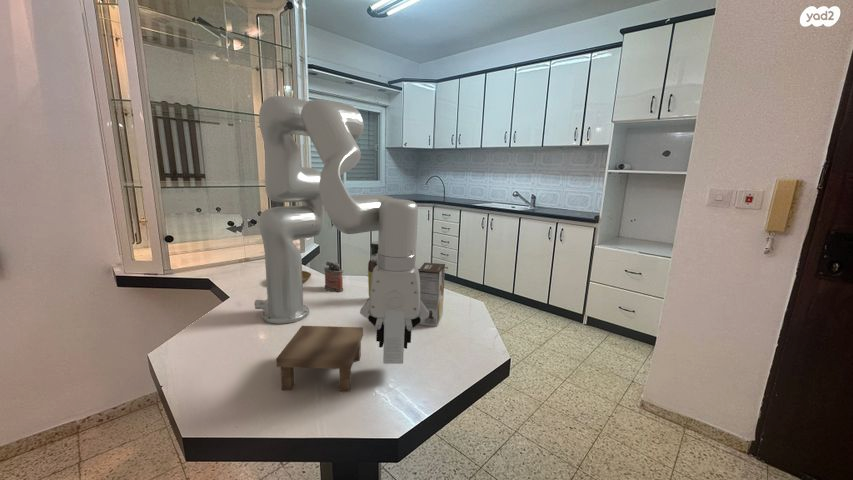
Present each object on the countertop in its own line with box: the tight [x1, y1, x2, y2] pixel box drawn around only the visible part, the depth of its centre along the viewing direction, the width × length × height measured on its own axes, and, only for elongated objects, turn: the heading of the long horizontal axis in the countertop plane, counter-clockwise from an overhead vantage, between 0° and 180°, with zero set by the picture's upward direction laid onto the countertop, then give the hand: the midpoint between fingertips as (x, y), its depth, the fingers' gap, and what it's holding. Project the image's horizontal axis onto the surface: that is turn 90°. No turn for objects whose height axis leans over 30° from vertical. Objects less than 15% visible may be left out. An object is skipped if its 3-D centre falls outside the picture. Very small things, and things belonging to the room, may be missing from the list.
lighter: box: [323, 261, 344, 293], centre depth 122 cm, size 8×3×10 cm, turn 58°
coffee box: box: [418, 262, 446, 327], centre depth 99 cm, size 9×6×16 cm
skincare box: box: [382, 309, 406, 365], centre depth 72 cm, size 6×4×12 cm
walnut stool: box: [276, 325, 364, 393], centre depth 72 cm, size 14×14×7 cm
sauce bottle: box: [367, 240, 378, 300], centre depth 111 cm, size 6×6×20 cm
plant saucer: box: [302, 270, 312, 284], centre depth 129 cm, size 15×15×3 cm
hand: (393, 343), depth 72 cm, fingers closed on skincare box, 4 cm apart
